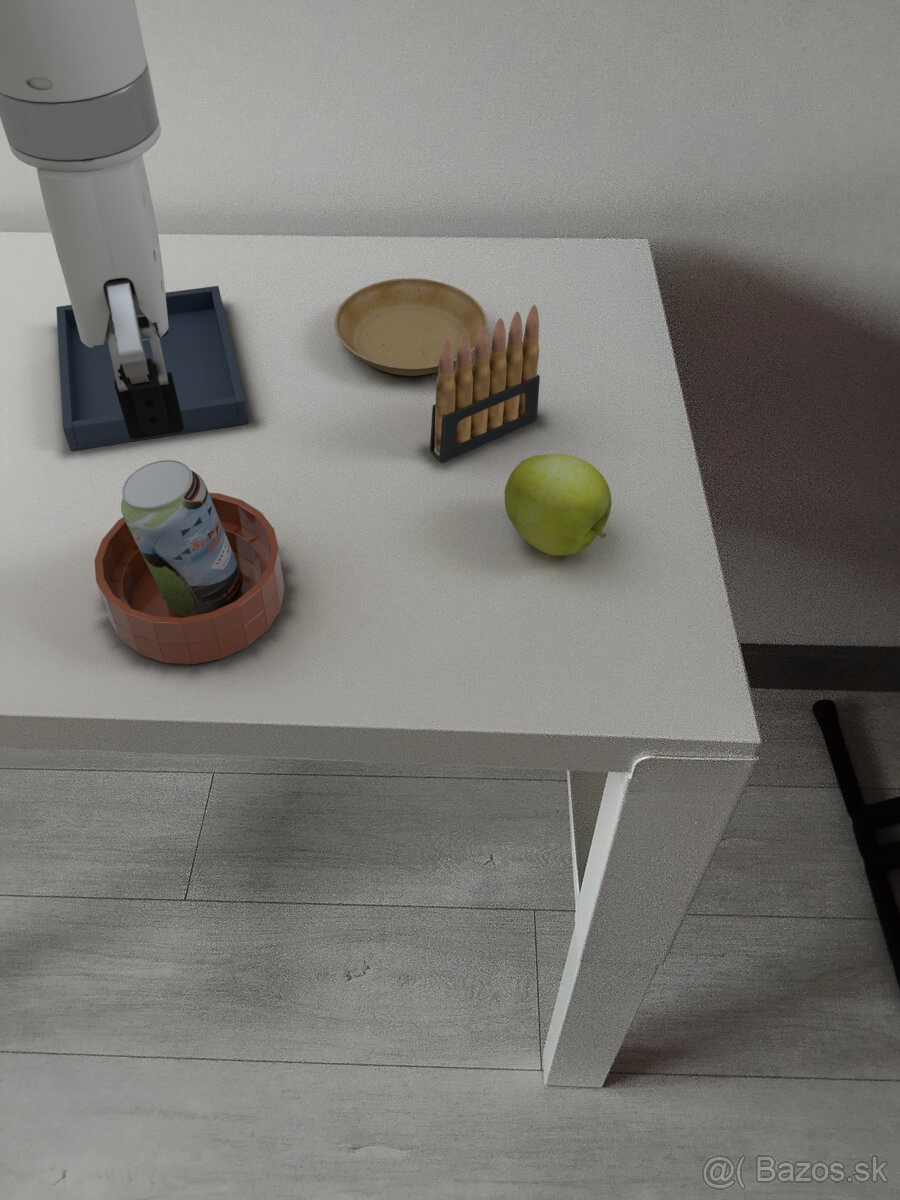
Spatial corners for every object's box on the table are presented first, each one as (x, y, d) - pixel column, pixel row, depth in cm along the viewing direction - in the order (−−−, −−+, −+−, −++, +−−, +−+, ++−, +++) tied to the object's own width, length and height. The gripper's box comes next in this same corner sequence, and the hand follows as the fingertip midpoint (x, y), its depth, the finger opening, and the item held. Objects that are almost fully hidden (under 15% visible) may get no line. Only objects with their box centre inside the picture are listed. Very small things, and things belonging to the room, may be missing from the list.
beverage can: (238, 628, 78) (214, 515, 69) (140, 625, 78) (104, 511, 69) (251, 566, 82) (229, 451, 73) (157, 564, 82) (125, 448, 73)
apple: (577, 595, 82) (590, 523, 75) (483, 543, 85) (488, 470, 79) (628, 538, 86) (644, 466, 80) (536, 491, 89) (545, 418, 83)
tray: (70, 451, 91) (62, 428, 89) (63, 329, 103) (56, 306, 101) (248, 423, 94) (245, 400, 92) (222, 307, 106) (218, 285, 104)
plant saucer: (517, 343, 103) (518, 321, 101) (411, 411, 96) (411, 388, 94) (411, 283, 109) (410, 261, 107) (304, 342, 102) (302, 319, 100)
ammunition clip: (525, 409, 96) (536, 296, 87) (537, 420, 95) (550, 307, 86) (429, 451, 92) (430, 337, 83) (440, 463, 91) (443, 349, 82)
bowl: (116, 682, 75) (100, 639, 71) (105, 553, 83) (90, 508, 79) (297, 646, 78) (291, 603, 74) (269, 524, 86) (262, 479, 82)
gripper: (0, 44, 57) (82, 313, 70) (0, 204, 46) (96, 486, 59) (141, 30, 58) (195, 296, 71) (172, 183, 47) (229, 463, 60)
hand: (150, 382), depth 65 cm, fingers open, 9 cm apart
